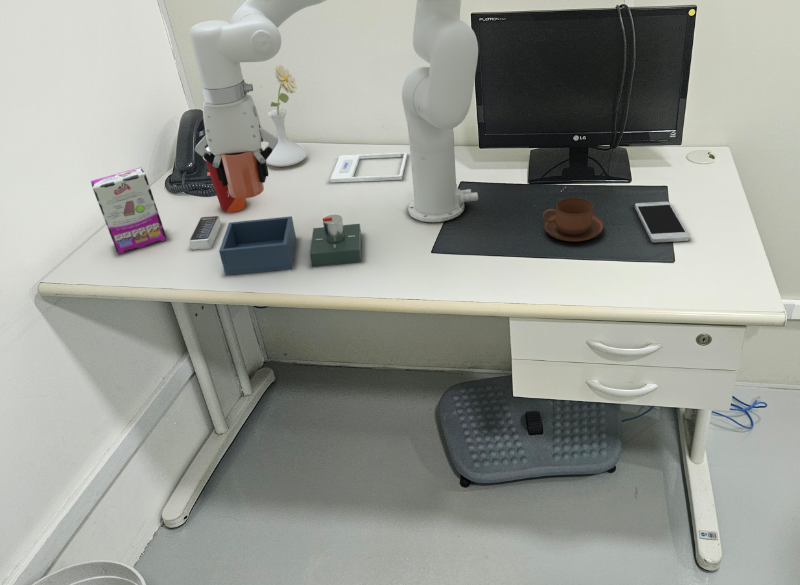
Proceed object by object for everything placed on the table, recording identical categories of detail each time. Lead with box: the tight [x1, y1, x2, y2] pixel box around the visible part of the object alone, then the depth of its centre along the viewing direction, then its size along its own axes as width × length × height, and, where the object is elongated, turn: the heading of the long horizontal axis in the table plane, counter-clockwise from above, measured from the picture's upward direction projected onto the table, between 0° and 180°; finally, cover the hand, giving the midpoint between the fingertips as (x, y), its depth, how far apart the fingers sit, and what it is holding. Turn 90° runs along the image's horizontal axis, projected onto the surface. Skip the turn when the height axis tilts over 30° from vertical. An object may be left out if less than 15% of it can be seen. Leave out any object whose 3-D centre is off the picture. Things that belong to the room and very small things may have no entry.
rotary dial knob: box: [322, 214, 345, 243], centre depth 146 cm, size 4×4×5 cm
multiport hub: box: [188, 215, 222, 251], centre depth 159 cm, size 4×11×2 cm, turn 0°
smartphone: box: [634, 201, 690, 243], centre depth 145 cm, size 7×16×1 cm, turn 177°
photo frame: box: [329, 152, 408, 183], centre depth 181 cm, size 15×1×18 cm
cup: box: [221, 151, 265, 199], centre depth 139 cm, size 7×7×9 cm
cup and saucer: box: [542, 197, 605, 243], centre depth 144 cm, size 12×12×6 cm
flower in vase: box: [266, 64, 308, 168], centre depth 184 cm, size 13×11×25 cm
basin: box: [218, 215, 297, 276], centre depth 148 cm, size 14×12×6 cm
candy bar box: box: [90, 166, 168, 255], centre depth 155 cm, size 11×5×16 cm, turn 117°
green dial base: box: [309, 223, 362, 268], centre depth 148 cm, size 10×11×3 cm
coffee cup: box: [202, 146, 247, 214], centre depth 167 cm, size 8×8×15 cm
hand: (244, 180), depth 140 cm, fingers closed on cup, 6 cm apart
